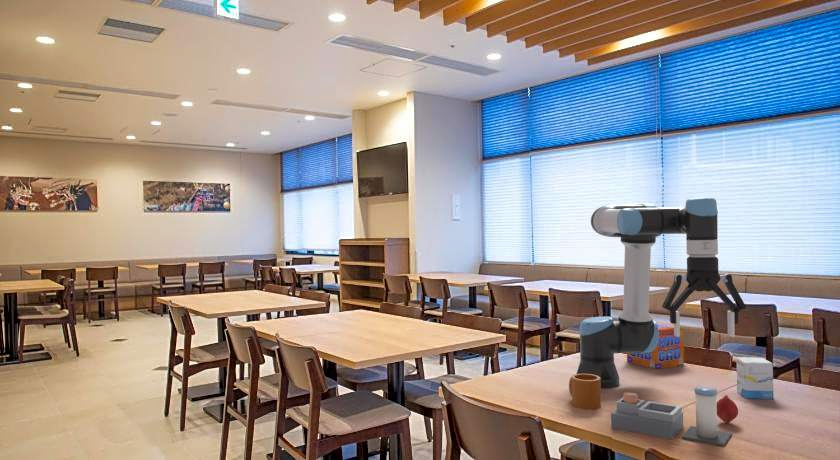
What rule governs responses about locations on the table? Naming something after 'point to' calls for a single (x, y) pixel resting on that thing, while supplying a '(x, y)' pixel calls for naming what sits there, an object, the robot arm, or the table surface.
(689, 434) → the pad
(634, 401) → the salmon orange cube
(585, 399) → the mug
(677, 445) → the table surface
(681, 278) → the robot arm
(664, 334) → the game box
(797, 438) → the table surface
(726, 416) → the onion
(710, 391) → the cylinder
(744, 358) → the ink box
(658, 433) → the box
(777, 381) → the table surface
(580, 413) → the table surface
